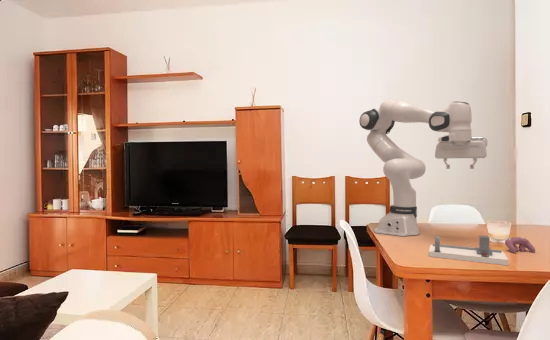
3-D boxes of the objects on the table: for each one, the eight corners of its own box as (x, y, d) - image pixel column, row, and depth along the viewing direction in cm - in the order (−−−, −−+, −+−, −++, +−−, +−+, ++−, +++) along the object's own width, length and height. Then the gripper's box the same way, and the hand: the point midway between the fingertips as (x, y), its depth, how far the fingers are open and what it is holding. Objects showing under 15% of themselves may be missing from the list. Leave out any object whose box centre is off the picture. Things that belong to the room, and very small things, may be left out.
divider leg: (477, 254, 127) (477, 238, 127) (476, 250, 134) (476, 234, 133) (492, 256, 125) (493, 239, 125) (491, 251, 131) (491, 236, 131)
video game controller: (529, 254, 141) (523, 237, 144) (537, 252, 137) (531, 235, 140) (506, 255, 141) (501, 238, 144) (514, 252, 136) (508, 235, 139)
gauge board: (428, 256, 134) (428, 236, 134) (430, 249, 144) (430, 230, 144) (508, 265, 122) (508, 243, 121) (503, 256, 132) (503, 236, 132)
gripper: (486, 137, 149) (486, 168, 150) (435, 138, 159) (435, 168, 159) (488, 136, 144) (487, 168, 144) (434, 138, 153) (434, 168, 154)
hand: (459, 168), depth 152 cm, fingers open, 8 cm apart
